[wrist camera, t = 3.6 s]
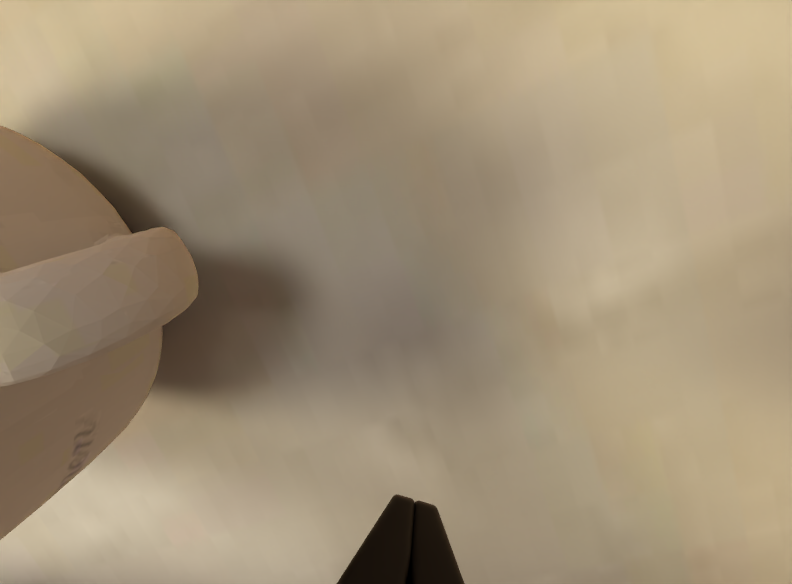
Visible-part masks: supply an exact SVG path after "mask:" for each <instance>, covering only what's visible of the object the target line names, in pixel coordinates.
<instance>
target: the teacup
mask: <svg viewBox="0 0 792 584" xmlns="http://www.w3.org/2000/svg"><path fill="white" fill-rule="evenodd" d="M198 286H199V283H198V276H197V271H196V268H195V265H194V262H193V259H192V256H191V255H190V253H189V251H188V250H187V248H186V247H185V245H184V243H183V242H182V240H181V239H180V238H179V236H178V235H177V234H176V232H175V231H173V230H170V229H168V228H165V227H158V228H151V229H149V230H146V231H140V232H137V233H134V234H132V233H131V231H130V230H129V228H128V227H127V225H126V224H125V223H124V221H123V220H122V218H121V217H120V215H119V214H118V213H117V211H116V210H115V208H114V207H113V206H112V205H111V204H110V203H109V202H108V201H107V199H106V198H105V197H104V196H103V195H102V194H101V193H100V192H99V191H98V190H97V189H96V188H95V187H94V186H93V185H92V184H91V183H90V182H89V181H88V180H87V179H86V178H85V177H84V176H83V175H82V174H81V173H80V172H79V171H78V170H76V169H75V168H73V167H72V166H71V165H69V164H68V163H67V162H65V161H64V160H62V159H61V158H60V157H58V156H57V155H55V154H54V153H52V152H51V151H49V150H48V149H46V148H45V147H43V146H42V145H40V144H39V143H37V142H35V141H33V140H31V139H29V138H27V137H25V136H23V135H21V134H19V133H17V132H15V131H13V130H10V129H8V128H5V127H3V126H0V540H1V539H2V538H3V537H4V536H6V535H7V534H8V533H9V532H10V531H12V530H13V529H14V528H15V527H17V526H18V525H19V524H20V523H21V522H23V521H24V520H25V519H26V518H27V517H29V516H30V515H31V514H32V513H33V512H35V511H36V510H37V509H38V508H39V507H41V506H42V505H43V504H44V503H45V502H46V501H48V500H49V499H50V498H51V497H52V496H53V495H54V494H55V493H57V492H58V491H59V490H60V489H61V488H62V487H63V486H65V485H66V484H67V483H68V482H69V481H70V480H71V479H73V478H74V477H75V476H76V475H77V474H78V473H79V472H81V471H82V470H83V469H84V468H85V467H86V466H87V465H88V464H90V463H91V462H92V461H93V460H94V459H95V458H96V457H97V456H98V455H99V454H100V453H101V452H102V451H103V450H104V449H105V448H106V447H107V446H108V445H109V444H110V443H111V442H112V441H113V440H114V439H115V438H116V437H117V436H118V435H119V434H120V433H121V432H122V431H123V430H124V429H125V428H126V427H127V425H128V424H129V423H130V421H131V420H132V419H133V417H134V416H135V415H136V413H137V412H138V410H139V409H140V407H141V406H142V404H143V403H144V401H145V399H146V398H147V396H148V394H149V391H150V389H151V386H152V384H153V382H154V379H155V377H156V374H157V370H158V366H159V362H160V356H161V350H162V326H163V325H165V324H167V323H168V322H169V321H171V320H172V319H174V318H175V317H176V316H178V315H179V314H181V313H182V312H183V311H185V310H186V309H187V308H188V307H189V306H190V305H191V303H192V302H193V301H194V300H195V298H196V297H197V295H198Z"/></svg>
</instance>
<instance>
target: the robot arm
mask: <svg viewBox="0 0 792 584" xmlns="http://www.w3.org/2000/svg"><path fill="white" fill-rule="evenodd" d="M337 584H464V581H463V579H462V576H461V573H460V570H459V568H458V565H457V562H456V559H455V556H454V554H453V551H452V548H451V545H450V543H449V540H448V537H447V534H446V532H445V529H444V526H443V523H442V521H441V518H440V515H439V512H438V510H437V508H436V507H435V506H434V505H431V504H428V503H425V502H421V501H416V502H415V503H414V500H413V499H411V498H408V497H404V496H401V495H394V496H393V497H392V499H391V500H390V502H389V504H388V505H387V507H386V508H385V510H384V511H383V513H382V514H381V516H380V517H379V519H378V521H377V522H376V524H375V525H374V527H373V528H372V530H371V531H370V533H369V535H368V536H367V538H366V539H365V541H364V542H363V544H362V545H361V547H360V548H359V550H358V552H357V553H356V555H355V556H354V558H353V559H352V561H351V562H350V564H349V565H348V567H347V569H346V570H345V572H344V573H343V575H342V576H341V578H340V579H339V581H338V583H337Z"/></svg>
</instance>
